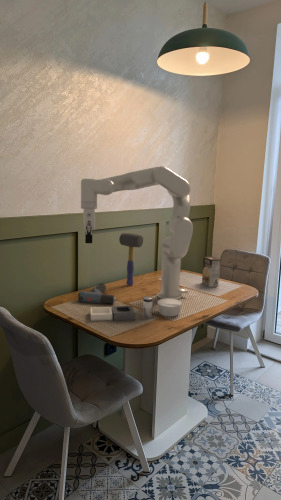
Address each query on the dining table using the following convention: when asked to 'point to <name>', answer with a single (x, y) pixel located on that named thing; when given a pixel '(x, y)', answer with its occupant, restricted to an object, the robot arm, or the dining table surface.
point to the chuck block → (123, 313)
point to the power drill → (97, 295)
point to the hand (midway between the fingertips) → (88, 241)
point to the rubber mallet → (130, 252)
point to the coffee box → (211, 271)
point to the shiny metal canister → (147, 307)
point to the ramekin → (169, 307)
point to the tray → (100, 313)
